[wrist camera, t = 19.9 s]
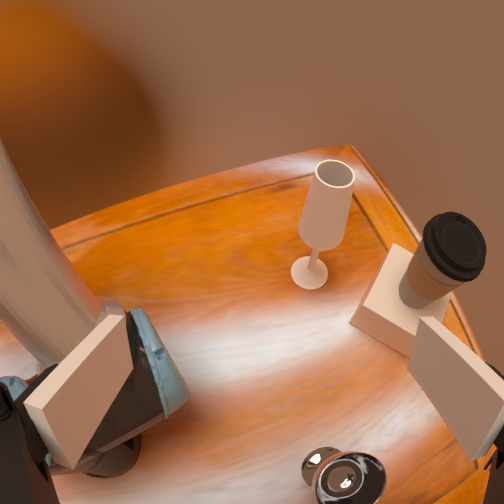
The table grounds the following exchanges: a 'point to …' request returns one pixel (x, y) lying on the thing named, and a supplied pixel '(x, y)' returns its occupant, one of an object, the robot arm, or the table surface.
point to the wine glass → (344, 476)
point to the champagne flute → (323, 219)
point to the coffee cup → (443, 260)
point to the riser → (393, 305)
